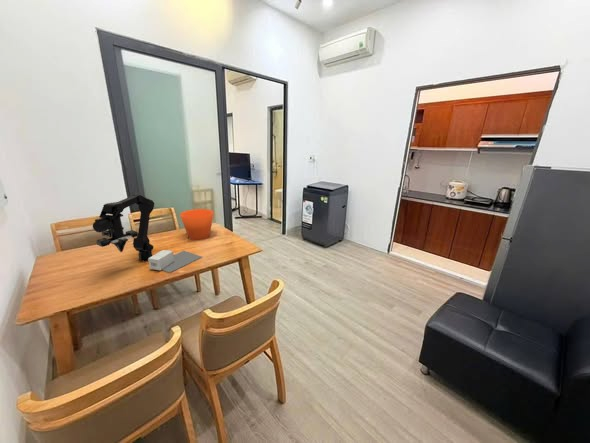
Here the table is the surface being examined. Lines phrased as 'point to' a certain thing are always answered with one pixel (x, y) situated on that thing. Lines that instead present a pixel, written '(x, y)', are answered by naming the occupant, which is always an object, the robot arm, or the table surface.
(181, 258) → the mat
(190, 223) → the flowerpot
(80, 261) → the table surface
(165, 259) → the supplement box
